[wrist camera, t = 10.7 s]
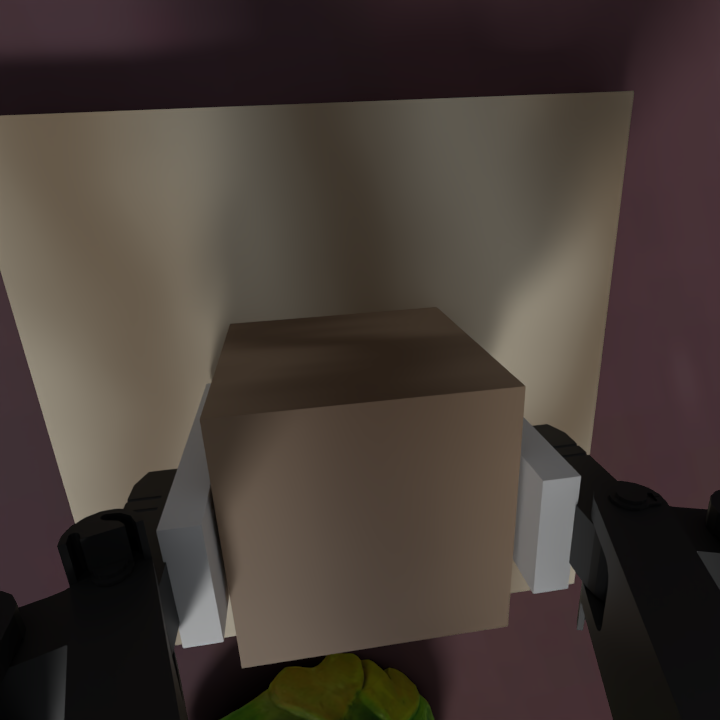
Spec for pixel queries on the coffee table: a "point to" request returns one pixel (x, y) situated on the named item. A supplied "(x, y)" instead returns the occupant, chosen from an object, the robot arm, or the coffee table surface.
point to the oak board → (299, 251)
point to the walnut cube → (362, 481)
